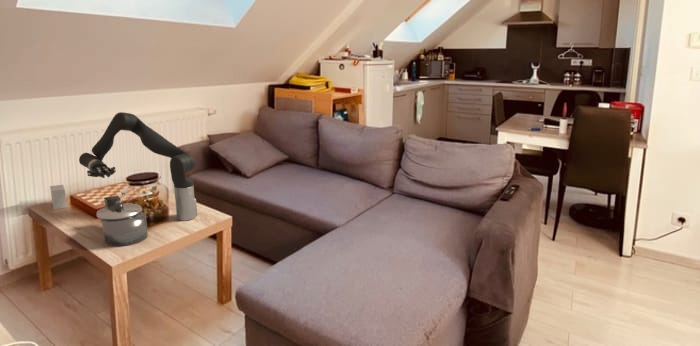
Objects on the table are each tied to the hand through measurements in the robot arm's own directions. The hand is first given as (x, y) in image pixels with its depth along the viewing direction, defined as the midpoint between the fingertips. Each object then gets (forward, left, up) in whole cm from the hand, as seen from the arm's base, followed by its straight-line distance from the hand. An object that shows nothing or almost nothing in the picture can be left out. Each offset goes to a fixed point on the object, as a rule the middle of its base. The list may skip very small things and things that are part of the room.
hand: (106, 175), depth 225 cm
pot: (+9, +24, -24) cm, 35 cm away
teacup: (-23, -13, -24) cm, 36 cm away
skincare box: (+2, -43, -24) cm, 50 cm away
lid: (+5, +15, -14) cm, 21 cm away
